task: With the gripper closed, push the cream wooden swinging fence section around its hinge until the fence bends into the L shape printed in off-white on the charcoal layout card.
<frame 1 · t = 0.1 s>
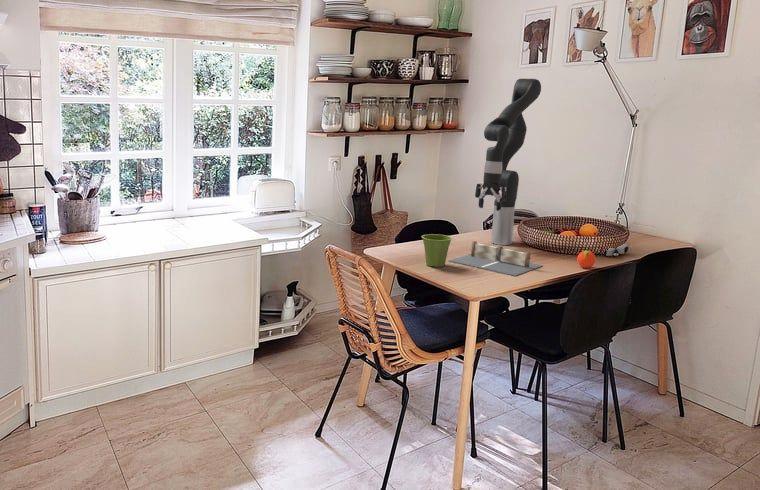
hand: (489, 209, 290), 17 cm above the table, tool pointing down, fingers open, 8 cm apart
robot toy: (611, 255, 291), on the table
fixed fence section: (485, 259, 272), on the table
plant pot: (435, 265, 260), on the table
swinging fence section: (513, 256, 264), point 4 cm above the table, hinge at 0.0°
clementine: (585, 268, 265), on the table
layout card: (495, 263, 266), on the table
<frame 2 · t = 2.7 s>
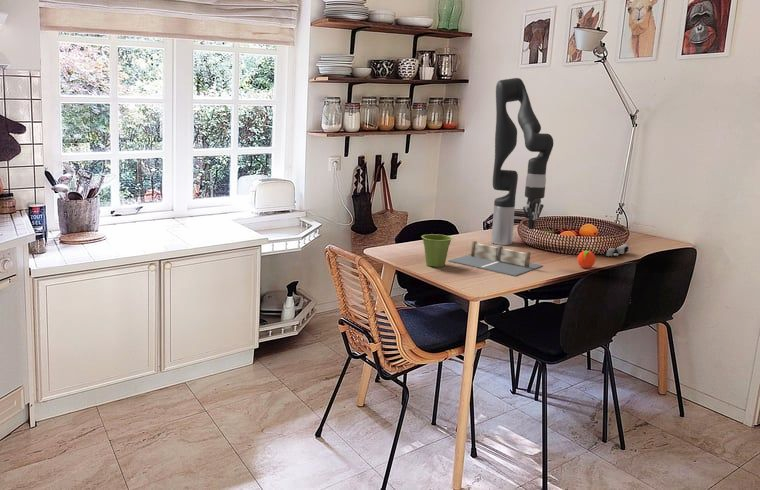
hand: (531, 229, 263), 15 cm above the table, tool pointing down, fingers closed
nothing on the table moved.
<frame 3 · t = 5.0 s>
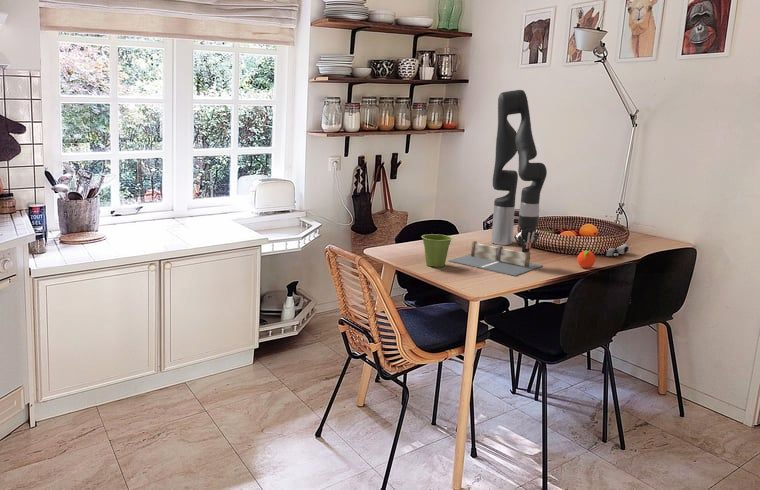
hand: (525, 257, 263), 4 cm above the table, tool pointing down, fingers closed
swinging fence section: (513, 256, 264), point 4 cm above the table, hinge at 0.3°, touching gripper
everything else where it was.
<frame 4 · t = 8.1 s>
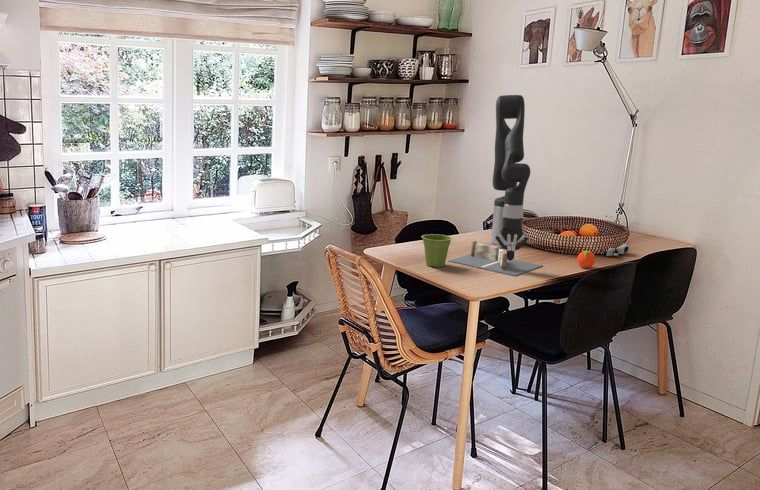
hand: (509, 259, 258), 4 cm above the table, tool pointing down, fingers closed
swinging fence section: (501, 257, 262), point 4 cm above the table, hinge at 51.9°, touching gripper
everything else where it was.
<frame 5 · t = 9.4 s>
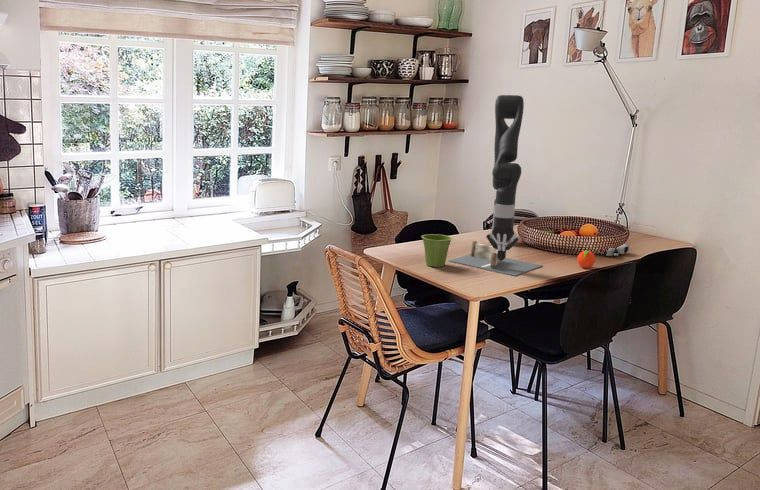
hand: (501, 259, 258), 4 cm above the table, tool pointing down, fingers closed
swinging fence section: (496, 256, 262), point 4 cm above the table, hinge at 71.3°, touching gripper
everything else where it was.
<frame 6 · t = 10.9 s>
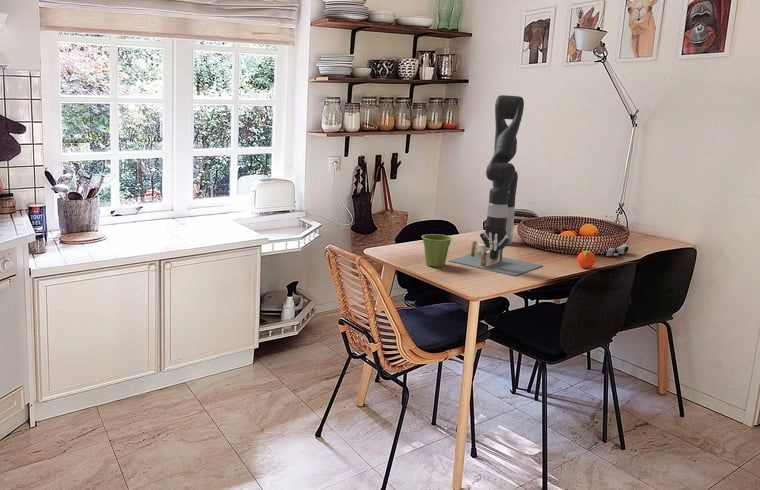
hand: (493, 259, 258), 4 cm above the table, tool pointing down, fingers closed
swinging fence section: (491, 256, 263), point 4 cm above the table, hinge at 90.0°
everything else where it was.
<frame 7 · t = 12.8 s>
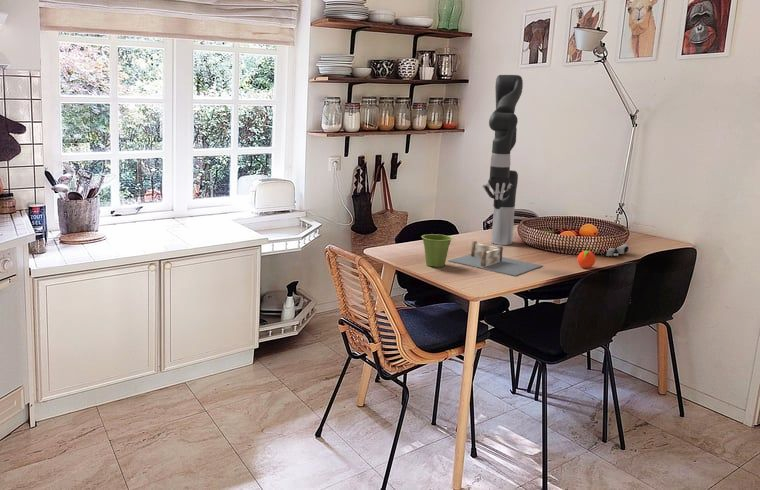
hand: (497, 208, 264), 22 cm above the table, tool pointing down, fingers closed
nothing on the table moved.
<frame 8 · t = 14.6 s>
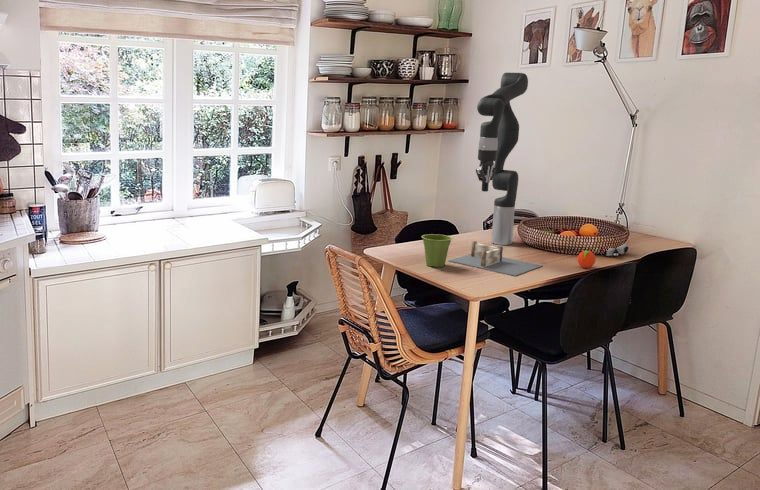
hand: (484, 191, 274), 27 cm above the table, tool pointing down, fingers closed
nothing on the table moved.
at the end: swinging fence section at +90° (first picture: +0°) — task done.
